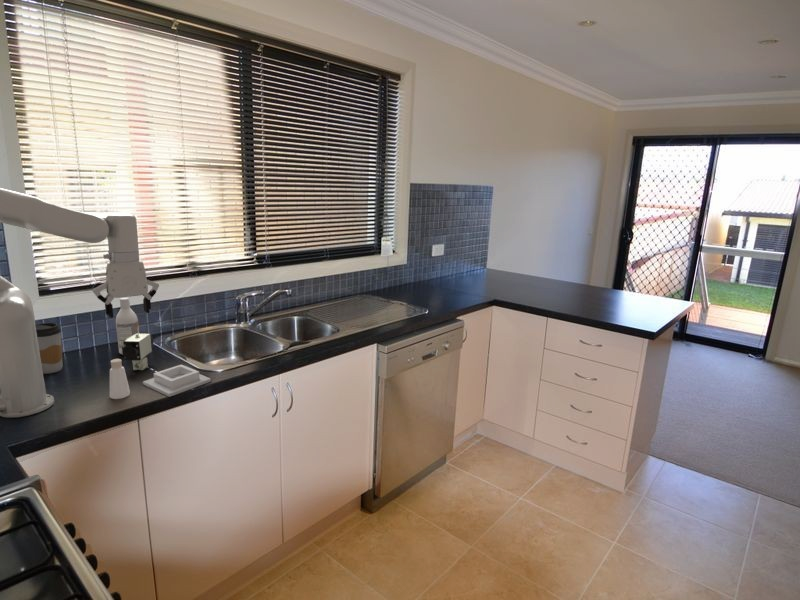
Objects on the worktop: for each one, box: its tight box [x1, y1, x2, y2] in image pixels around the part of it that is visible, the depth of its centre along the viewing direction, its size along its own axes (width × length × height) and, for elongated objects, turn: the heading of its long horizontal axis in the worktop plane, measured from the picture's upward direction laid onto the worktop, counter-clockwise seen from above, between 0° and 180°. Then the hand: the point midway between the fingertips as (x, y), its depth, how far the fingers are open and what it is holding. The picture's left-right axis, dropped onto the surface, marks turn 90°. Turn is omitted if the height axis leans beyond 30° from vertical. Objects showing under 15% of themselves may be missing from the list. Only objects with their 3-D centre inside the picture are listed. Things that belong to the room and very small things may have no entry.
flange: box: [142, 364, 212, 398], centre depth 152 cm, size 14×14×4 cm
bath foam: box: [115, 297, 140, 355], centre depth 174 cm, size 7×7×20 cm
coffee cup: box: [35, 322, 64, 375], centre depth 156 cm, size 8×8×15 cm
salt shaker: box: [109, 358, 131, 400], centre depth 142 cm, size 5×5×11 cm
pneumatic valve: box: [122, 332, 154, 371], centre depth 161 cm, size 6×12×12 cm, turn 2°
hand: (129, 314), depth 144 cm, fingers open, 9 cm apart
